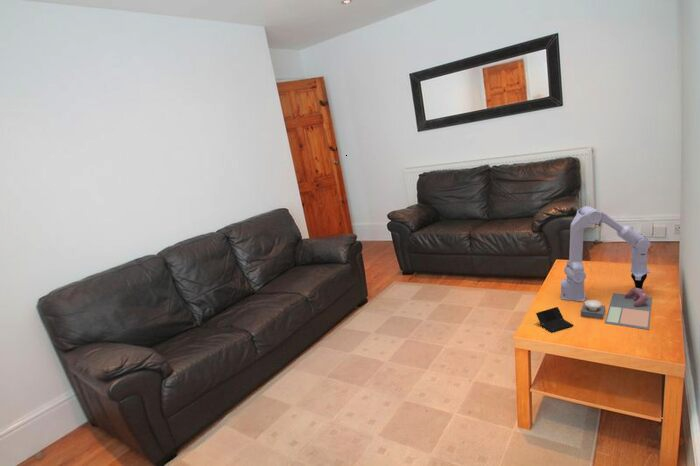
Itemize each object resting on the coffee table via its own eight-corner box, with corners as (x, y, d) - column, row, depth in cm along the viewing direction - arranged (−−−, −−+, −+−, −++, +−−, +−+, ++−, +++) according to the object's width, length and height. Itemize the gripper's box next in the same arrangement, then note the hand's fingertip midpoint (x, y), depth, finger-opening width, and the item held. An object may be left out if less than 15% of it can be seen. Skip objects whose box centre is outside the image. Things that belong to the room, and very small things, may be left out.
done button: (583, 312, 166) (583, 304, 165) (586, 306, 170) (585, 299, 169) (600, 314, 162) (600, 306, 161) (602, 308, 166) (602, 300, 165)
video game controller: (644, 309, 164) (653, 296, 162) (633, 306, 165) (642, 292, 163) (632, 299, 174) (640, 286, 172) (622, 296, 174) (630, 283, 172)
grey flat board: (604, 323, 158) (604, 322, 158) (613, 293, 180) (613, 292, 180) (648, 329, 149) (648, 329, 149) (652, 297, 170) (652, 297, 170)
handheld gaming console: (556, 331, 156) (544, 308, 160) (543, 336, 162) (533, 313, 166) (576, 326, 160) (564, 303, 164) (563, 330, 166) (552, 308, 170)
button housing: (580, 316, 166) (580, 311, 165) (584, 308, 172) (583, 303, 171) (602, 319, 161) (602, 314, 160) (605, 311, 167) (605, 305, 166)
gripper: (649, 267, 165) (649, 296, 168) (651, 256, 175) (650, 283, 179) (629, 266, 169) (629, 294, 173) (632, 255, 180) (631, 281, 183)
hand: (638, 288), depth 176 cm, fingers closed
